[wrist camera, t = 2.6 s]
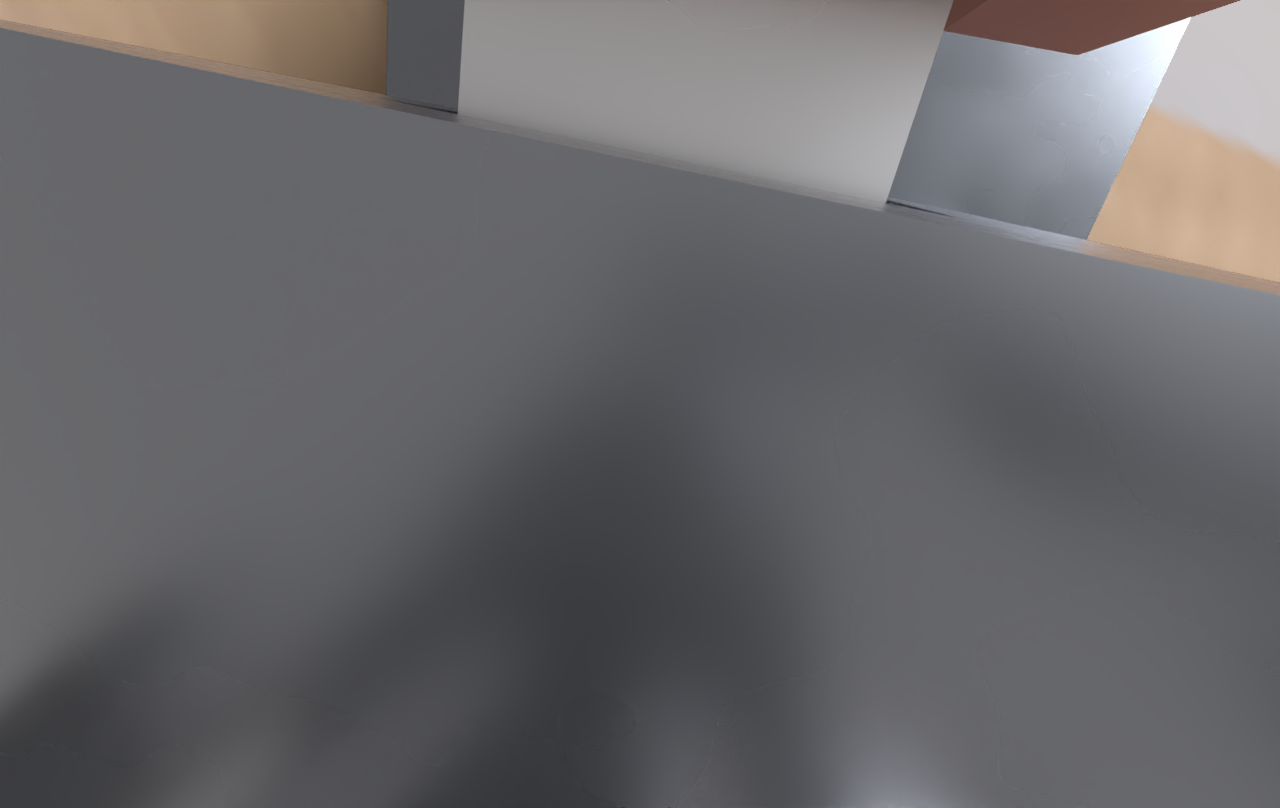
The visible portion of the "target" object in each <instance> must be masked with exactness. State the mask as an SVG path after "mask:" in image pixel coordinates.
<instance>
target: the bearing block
mask: <svg viewBox="0 0 1280 808" xmlns="http://www.w3.org/2000/svg"><path fill="white" fill-rule="evenodd" d="M464 4H465V0H388V24H387V74H386V95H385V94H380V93H375V92H370V91H365V90H360V89H354V88H349V87H344V86H339V85H334V84H329V83H324V82H319V81H313V80H308V79H303V78H298V77H293V76H288V75H283V74H277V73H272V72H267V71H262V70H257V69H252V68H247V67H241V66H236V65H231V64H226V63H221V62H216V61H211V60H205V59H200V58H195V57H190V56H185V55H180V54H175V53H169V52H164V51H159V50H154V49H149V48H144V47H139V46H133V45H128V44H123V43H118V42H113V41H108V40H103V39H98V38H92V37H87V36H82V35H77V34H72V33H67V32H62V31H56V30H51V29H46V28H41V27H36V26H31V25H26V24H20V23H15V22H10V21H5V20H0V808H1280V283H1279V282H1274V281H1270V280H1265V279H1261V278H1256V277H1252V276H1247V275H1243V274H1238V273H1234V272H1229V271H1225V270H1220V269H1215V268H1211V267H1206V266H1202V265H1197V264H1193V263H1188V262H1184V261H1179V260H1175V259H1170V258H1166V257H1161V256H1157V255H1152V254H1148V253H1143V252H1139V251H1134V250H1130V249H1125V248H1121V247H1116V246H1112V245H1107V244H1103V243H1098V242H1094V241H1089V240H1087V238H1088V235H1089V233H1090V231H1091V229H1092V227H1093V225H1094V223H1095V221H1096V218H1097V216H1098V214H1099V212H1100V210H1101V208H1102V206H1103V204H1104V201H1105V199H1106V197H1107V195H1108V193H1109V191H1110V189H1111V187H1112V185H1113V182H1114V180H1115V178H1116V176H1117V174H1118V172H1119V170H1120V168H1121V165H1122V163H1123V161H1124V159H1125V157H1126V155H1127V153H1128V151H1129V148H1130V146H1131V144H1132V142H1133V140H1134V138H1135V136H1136V134H1137V131H1138V129H1139V127H1140V125H1141V123H1142V121H1143V119H1144V117H1145V114H1146V112H1147V110H1148V108H1149V106H1150V104H1151V102H1152V100H1153V97H1154V95H1155V93H1156V91H1157V89H1158V87H1159V85H1160V83H1161V80H1162V78H1163V76H1164V74H1165V72H1166V70H1167V68H1168V66H1169V63H1170V61H1171V59H1172V57H1173V55H1174V53H1175V51H1176V48H1177V46H1178V44H1179V42H1180V40H1181V38H1182V35H1183V34H1184V32H1185V29H1186V27H1187V25H1188V23H1189V21H1190V19H1191V17H1189V18H1186V19H1184V20H1181V21H1178V22H1175V23H1172V24H1169V25H1166V26H1163V27H1160V28H1157V29H1154V30H1151V31H1148V32H1145V33H1142V34H1139V35H1136V36H1133V37H1130V38H1127V39H1124V40H1121V41H1118V42H1116V43H1113V44H1110V45H1107V46H1104V47H1101V48H1098V49H1095V50H1092V51H1089V52H1086V53H1083V54H1080V55H1073V54H1067V53H1062V52H1056V51H1051V50H1045V49H1040V48H1034V47H1029V46H1023V45H1018V44H1012V43H1007V42H1001V41H996V40H990V39H985V38H979V37H974V36H968V35H963V34H957V33H952V32H946V31H943V33H942V36H941V39H940V42H939V45H938V48H937V51H936V54H935V57H934V60H933V63H932V66H931V69H930V72H929V75H928V78H927V81H926V84H925V87H924V90H923V93H922V96H921V99H920V102H919V105H918V108H917V111H916V114H915V117H914V120H913V123H912V126H911V129H910V132H909V135H908V138H907V141H906V144H905V147H904V150H903V153H902V156H901V159H900V162H899V165H898V168H897V171H896V174H895V177H894V180H893V183H892V186H891V189H890V192H889V195H888V198H887V201H886V203H883V202H878V201H873V200H868V199H863V198H858V197H854V196H849V195H844V194H839V193H834V192H830V191H825V190H820V189H815V188H810V187H805V186H801V185H796V184H791V183H786V182H781V181H777V180H772V179H767V178H762V177H757V176H752V175H748V174H743V173H738V172H733V171H728V170H724V169H719V168H714V167H709V166H704V165H699V164H695V163H690V162H685V161H680V160H675V159H671V158H666V157H661V156H656V155H651V154H646V153H642V152H637V151H632V150H627V149H622V148H618V147H613V146H608V145H603V144H598V143H594V142H589V141H584V140H579V139H574V138H569V137H565V136H560V135H555V134H550V133H545V132H541V131H536V130H531V129H526V128H521V127H516V126H512V125H507V124H502V123H497V122H492V121H488V120H483V119H478V118H473V117H468V116H463V115H459V114H458V100H459V84H460V68H461V52H462V36H463V20H464Z"/></svg>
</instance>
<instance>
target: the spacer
mask: <svg viewBox="0 0 1280 808" xmlns="http://www.w3.org/2000/svg"><path fill="white" fill-rule="evenodd" d="M1237 1H1240V0H953V3H952V6H951V9H950V12H949V15H948V18H947V21H946V24H945V27H944V30H943V31H946V32H952V33H957V34H963V35H968V36H974V37H979V38H985V39H990V40H996V41H1001V42H1007V43H1012V44H1018V45H1023V46H1029V47H1034V48H1040V49H1045V50H1051V51H1056V52H1062V53H1067V54H1073V55H1080V54H1083V53H1086V52H1089V51H1092V50H1095V49H1098V48H1101V47H1104V46H1107V45H1110V44H1113V43H1116V42H1118V41H1121V40H1124V39H1127V38H1130V37H1133V36H1136V35H1139V34H1142V33H1145V32H1148V31H1151V30H1154V29H1157V28H1160V27H1163V26H1166V25H1169V24H1172V23H1175V22H1178V21H1181V20H1184V19H1186V18H1189V17H1192V16H1195V15H1198V14H1201V13H1204V12H1207V11H1210V10H1213V9H1216V8H1219V7H1222V6H1225V5H1228V4H1231V3H1234V2H1237Z"/></svg>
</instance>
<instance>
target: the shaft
mask: <svg viewBox="0 0 1280 808" xmlns="http://www.w3.org/2000/svg"><path fill="white" fill-rule="evenodd" d="M952 3H953V0H465V4H464V20H463V36H462V52H461V68H460V84H459V100H458V114H459V115H463V116H468V117H473V118H478V119H483V120H488V121H492V122H497V123H502V124H507V125H512V126H516V127H521V128H526V129H531V130H536V131H541V132H545V133H550V134H555V135H560V136H565V137H569V138H574V139H579V140H584V141H589V142H594V143H598V144H603V145H608V146H613V147H618V148H622V149H627V150H632V151H637V152H642V153H646V154H651V155H656V156H661V157H666V158H671V159H675V160H680V161H685V162H690V163H695V164H699V165H704V166H709V167H714V168H719V169H724V170H728V171H733V172H738V173H743V174H748V175H752V176H757V177H762V178H767V179H772V180H777V181H781V182H786V183H791V184H796V185H801V186H805V187H810V188H815V189H820V190H825V191H830V192H834V193H839V194H844V195H849V196H854V197H858V198H863V199H868V200H873V201H878V202H883V203H886V201H887V198H888V195H889V192H890V189H891V186H892V183H893V180H894V177H895V174H896V171H897V168H898V165H899V162H900V159H901V156H902V153H903V150H904V147H905V144H906V141H907V138H908V135H909V132H910V129H911V126H912V123H913V120H914V117H915V114H916V111H917V108H918V105H919V102H920V99H921V96H922V93H923V90H924V87H925V84H926V81H927V78H928V75H929V72H930V69H931V66H932V63H933V60H934V57H935V54H936V51H937V48H938V45H939V42H940V39H941V36H942V33H943V30H944V27H945V24H946V21H947V18H948V15H949V12H950V9H951V6H952Z"/></svg>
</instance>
